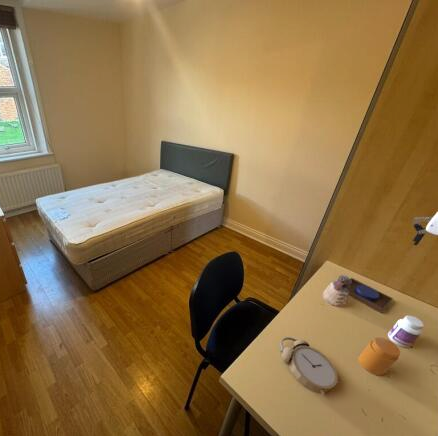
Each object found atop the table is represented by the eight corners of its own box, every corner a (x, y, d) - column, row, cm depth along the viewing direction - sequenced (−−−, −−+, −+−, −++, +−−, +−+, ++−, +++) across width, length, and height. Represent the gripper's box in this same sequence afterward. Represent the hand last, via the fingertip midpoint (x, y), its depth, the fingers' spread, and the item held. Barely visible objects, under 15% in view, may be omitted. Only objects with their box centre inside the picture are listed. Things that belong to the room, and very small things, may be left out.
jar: (387, 367, 68) (405, 349, 63) (380, 380, 65) (398, 361, 60) (362, 351, 72) (377, 332, 68) (354, 362, 69) (369, 343, 65)
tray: (390, 302, 88) (393, 298, 87) (381, 313, 84) (384, 309, 83) (349, 281, 98) (351, 277, 97) (340, 290, 93) (342, 286, 92)
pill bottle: (414, 348, 73) (433, 329, 68) (397, 347, 73) (414, 328, 68) (398, 332, 78) (415, 313, 73) (382, 332, 78) (397, 313, 73)
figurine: (349, 304, 88) (363, 281, 82) (336, 309, 86) (349, 286, 80) (330, 290, 93) (343, 268, 88) (318, 295, 91) (329, 272, 86)
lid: (351, 293, 91) (354, 289, 90) (358, 286, 95) (361, 282, 93) (373, 305, 86) (375, 300, 85) (379, 297, 90) (382, 293, 89)
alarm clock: (322, 398, 59) (275, 342, 69) (312, 403, 62) (268, 349, 72) (347, 377, 63) (299, 327, 73) (337, 382, 66) (292, 334, 76)
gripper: (427, 195, 69) (396, 241, 78) (527, 219, 57) (478, 271, 65) (433, 190, 73) (403, 234, 81) (529, 211, 60) (482, 261, 69)
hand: (437, 251), depth 73 cm, fingers open, 9 cm apart
